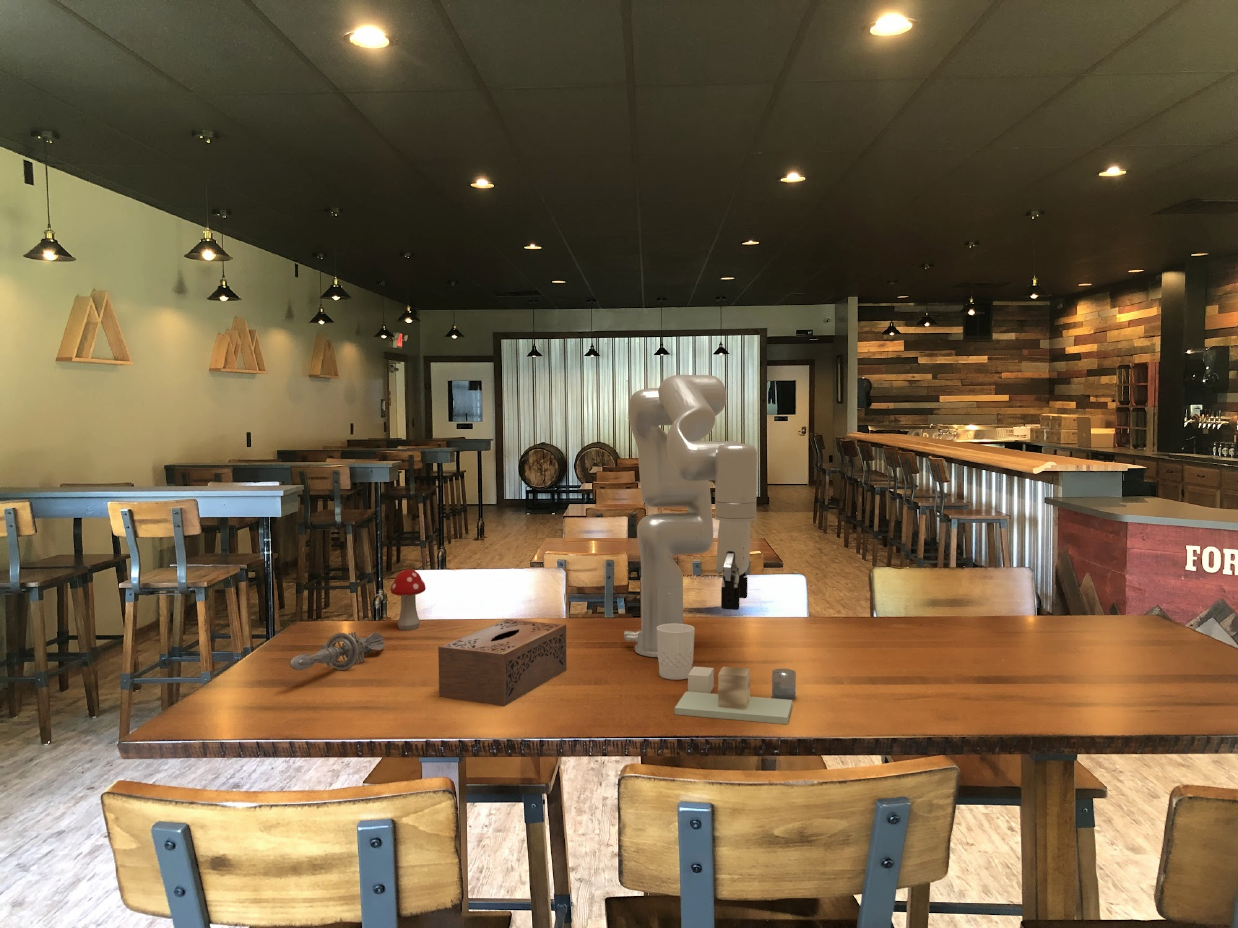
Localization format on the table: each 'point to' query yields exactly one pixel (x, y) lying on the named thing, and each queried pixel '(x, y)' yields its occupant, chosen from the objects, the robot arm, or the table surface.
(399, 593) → the decorative mushroom
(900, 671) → the table surface
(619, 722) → the table surface
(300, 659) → the spaceship
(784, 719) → the sage board
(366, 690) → the table surface
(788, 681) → the metal cylinder
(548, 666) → the tissue box cover
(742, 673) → the maple block
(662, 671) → the white cup
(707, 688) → the white block
